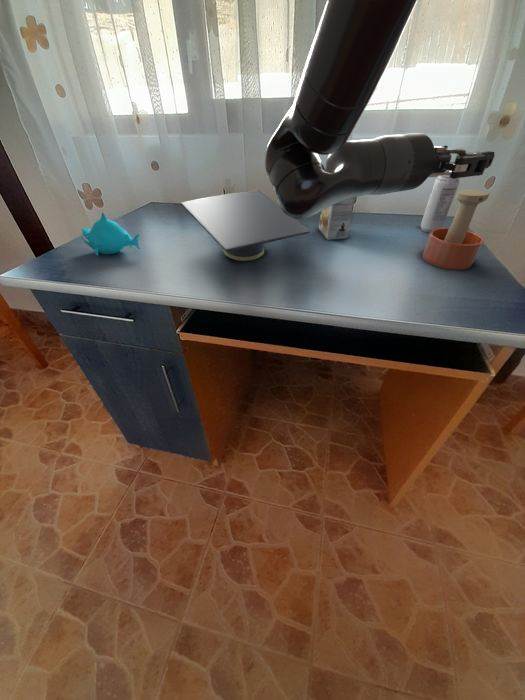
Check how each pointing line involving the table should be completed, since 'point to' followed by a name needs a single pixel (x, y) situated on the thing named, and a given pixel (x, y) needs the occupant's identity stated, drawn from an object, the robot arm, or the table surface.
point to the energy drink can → (439, 203)
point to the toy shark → (107, 237)
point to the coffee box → (336, 219)
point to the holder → (451, 250)
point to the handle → (464, 214)
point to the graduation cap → (243, 222)
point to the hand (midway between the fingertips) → (465, 155)
